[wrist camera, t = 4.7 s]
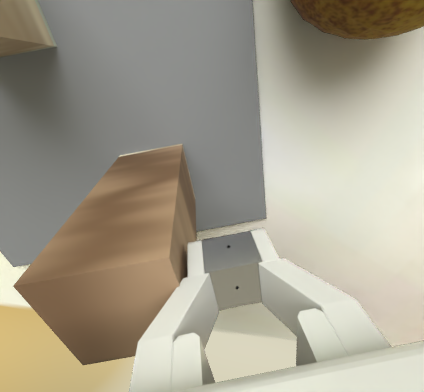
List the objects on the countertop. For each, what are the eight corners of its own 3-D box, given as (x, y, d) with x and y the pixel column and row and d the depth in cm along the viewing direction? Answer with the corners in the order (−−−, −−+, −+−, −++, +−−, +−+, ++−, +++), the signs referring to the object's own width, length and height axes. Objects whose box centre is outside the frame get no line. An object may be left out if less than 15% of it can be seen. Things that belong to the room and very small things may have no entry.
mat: (240, -142, 10) (242, -150, 9) (264, 215, 18) (266, 218, 18) (-237, -49, 10) (-253, -54, 9) (16, 263, 18) (13, 267, 18)
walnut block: (182, 143, 14) (169, 257, 6) (195, 197, 16) (200, 344, 8) (120, 155, 15) (13, 286, 6) (140, 208, 16) (83, 365, 8)
